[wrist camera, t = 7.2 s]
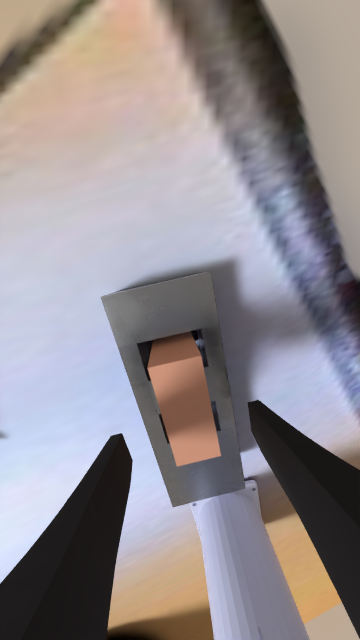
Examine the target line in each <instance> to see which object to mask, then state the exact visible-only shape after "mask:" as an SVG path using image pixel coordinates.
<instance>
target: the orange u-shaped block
mask: <svg viewBox="0 0 360 640" xmlns="http://www.w3.org/2000/svg"><path fill="white" fill-rule="evenodd" d="M148 371H149V375H150V378H151V381H152V385H153V388H154V392H155V395H156V398H157V402H158V405H159V408H160V412H161V415H162V418H163V422H164V425H165V428H166V432H167V435H168V438H169V442H170V445H171V448H172V452H173V455H174V458H175V462H176V465H177V467H178V466H182V465H186V464H190V463H194V462H198V461H202V460H206V459H210V458H214V457H218V456H221V453H220V448H219V443H218V437H217V432H216V427H215V422H214V417H213V412H212V407H211V402H210V397H209V392H208V387H207V382H206V377H205V372H204V367H203V362H202V357H201V354H200V352H199V349H198V347H197V345H196V342H195V340H194V338H193V336H192V333H191V331H188V332H184V333H180V334H175V335H171V336H167V337H163V338H158V339H154V340H153V343H152V348H151V353H150V358H149V363H148Z"/></svg>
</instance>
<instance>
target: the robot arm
mask: <svg viewBox="0 0 360 640" xmlns="http://www.w3.org/2000/svg"><path fill="white" fill-rule="evenodd" d="M248 408H249V416H250V423H251V431H252V433H253V435H254V437H255V439H256V442H257V444H258V446H259V448H260V450H261V452H262V454H263V455H264V457H265V459H266V461H267V462H268V464H269V466H270V467H271V469H272V471H273V473H274V474H275V476H276V478H277V479H278V481H279V483H280V484H281V486H282V488H283V489H284V491H285V493H286V495H287V496H288V498H289V500H290V501H291V503H292V505H293V506H294V508H295V510H296V512H297V514H298V515H299V517H300V519H301V521H302V523H303V525H304V527H305V529H306V531H307V533H308V535H309V537H310V539H311V541H312V543H313V545H314V547H315V549H316V551H317V552H318V555H319V557H320V559H321V561H322V563H323V565H324V567H325V569H326V571H327V573H328V575H329V577H330V579H331V581H332V583H333V585H334V587H335V589H336V591H337V593H338V595H339V597H340V599H341V601H342V603H343V605H344V607H345V609H346V611H347V613H348V616H349V617H350V620H351V622H352V624H353V626H354V628H355V630H356V632H357V634H358V636H359V638H360V470H359V469H357V468H355V467H354V466H352V465H350V464H349V463H347V462H345V461H344V460H342V459H340V458H339V457H337V456H335V455H334V454H332V453H331V452H329V451H328V450H326V449H325V448H323V447H321V446H320V445H319V444H317V443H316V442H314V441H313V440H311V439H310V438H308V437H307V436H305V435H304V434H302V433H301V432H300V431H298V430H297V429H296V428H294V427H293V426H291V425H290V424H289V423H287V422H286V421H285V420H283V419H282V418H281V417H279V416H278V415H277V414H276V413H274V412H273V411H272V410H271V409H269V408H268V407H267V406H266V405H264V404H263V403H262V402H261V401H259V400H256V401H252V402H248ZM132 461H133V460H132V458H131V455H130V453H129V450H128V447H127V445H126V442H125V440H124V437H123V435H122V433H121V434H117V435H113V436H111V437H110V438H109V440H108V441H107V443H106V444H105V446H104V447H103V449H102V450H101V452H100V453H99V455H98V456H97V458H96V459H95V461H94V462H93V464H92V466H91V467H90V468H89V470H88V471H87V473H86V474H85V476H84V477H83V479H82V480H81V482H80V483H79V485H78V486H77V488H76V489H75V490H74V492H73V493H72V495H71V496H70V497H69V499H68V500H67V501H66V503H65V504H64V506H63V507H62V508H61V510H60V511H59V513H58V514H57V515H56V517H55V518H54V519H53V520H52V522H51V523H50V524H49V526H48V527H47V528H46V530H45V531H44V532H43V533H42V535H41V536H40V537H39V538H38V540H37V541H36V542H35V543H34V545H33V546H32V547H31V548H30V550H29V551H28V552H27V553H26V554H25V556H24V557H23V558H22V559H21V560H20V561H19V563H18V564H17V565H16V566H15V567H14V568H13V570H12V571H11V572H10V573H9V574H8V575H7V577H6V578H5V579H4V580H3V581H2V583H1V584H0V640H106V637H107V628H108V619H109V610H110V602H111V595H112V587H113V579H114V571H115V564H116V558H117V552H118V547H119V542H120V536H121V531H122V526H123V521H124V516H125V510H126V505H127V500H128V494H129V489H130V482H131V473H132ZM245 487H246V489H243V490H239V491H235V492H231V493H227V494H223V495H219V496H215V497H211V498H207V499H203V500H200V501H196V502H192V503H190V506H191V509H192V512H193V516H194V519H195V522H196V526H197V529H198V532H199V536H200V539H201V544H202V552H203V559H204V567H205V574H206V582H207V589H208V597H209V605H210V612H211V620H212V627H213V635H214V640H310V639H309V636H308V634H307V631H306V629H305V626H304V624H303V621H302V619H301V616H300V614H299V611H298V609H297V606H296V603H295V601H294V598H293V596H292V593H291V591H290V588H289V586H288V583H287V581H286V578H285V576H284V573H283V571H282V568H281V565H280V563H279V560H278V558H277V555H276V553H275V550H274V548H273V545H272V543H271V540H270V538H269V535H268V533H267V530H266V527H265V525H264V522H263V520H262V517H261V510H260V503H259V495H258V488H257V484H256V481H255V480H249V481H245Z"/></svg>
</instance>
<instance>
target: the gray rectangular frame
mask: <svg viewBox="0 0 360 640" xmlns="http://www.w3.org/2000/svg"><path fill="white" fill-rule="evenodd" d="M101 300H102V302H103V305H104V308H105V311H106V314H107V317H108V320H109V323H110V326H111V329H112V332H113V334H114V337H115V340H116V343H117V346H118V349H119V352H120V355H121V358H122V361H123V363H124V366H125V369H126V372H127V375H128V378H129V381H130V384H131V387H132V390H133V393H134V395H135V398H136V401H137V404H138V407H139V410H140V413H141V416H142V419H143V422H144V425H145V427H146V430H147V433H148V436H149V439H150V442H151V445H152V448H153V451H154V454H155V457H156V459H157V462H158V465H159V468H160V471H161V474H162V477H163V480H164V483H165V486H166V489H167V491H168V494H169V497H170V500H171V503H172V506H173V507H176V506H180V505H184V504H188V503H192V502H196V501H200V500H203V499H207V498H211V497H215V496H219V495H223V494H227V493H231V492H235V491H239V490H243V489H246V487H245V481H244V475H243V469H242V462H241V456H240V450H239V444H238V438H237V431H236V425H235V419H234V413H233V407H232V400H231V394H230V388H229V382H228V376H227V369H226V363H225V357H224V351H223V345H222V338H221V332H220V326H219V320H218V314H217V307H216V301H215V295H214V289H213V283H212V276H211V272H204V273H198V274H193V275H189V276H185V277H180V278H176V279H171V280H167V281H163V282H158V283H154V284H149V285H145V286H140V287H136V288H132V289H127V290H123V291H118V292H114V293H111V294H108V295H105V296H102V297H101ZM193 330H197V334H198V339H199V344H200V350H199V352H200V354H201V357H202V362H203V367H204V372H205V377H206V382H207V387H208V392H209V397H210V402H211V407H212V412H213V417H214V422H215V427H216V432H217V437H218V443H219V448H220V453H221V456H218V457H214V458H210V459H206V460H202V461H198V462H194V463H190V464H186V465H182V466H178V467H177V465H176V462H175V458H174V455H173V452H172V448H171V445H170V442H169V438H168V435H167V432H166V428H165V425H164V422H163V418H162V415H161V412H160V408H159V405H158V402H157V398H156V395H155V392H154V388H153V385H152V381H151V378H150V375H149V371H148V363H149V358H150V354H149V351H148V347H147V344H146V341H150V340H154V339H158V338H163V337H167V336H171V335H175V334H180V333H184V332H188V331H193Z"/></svg>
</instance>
